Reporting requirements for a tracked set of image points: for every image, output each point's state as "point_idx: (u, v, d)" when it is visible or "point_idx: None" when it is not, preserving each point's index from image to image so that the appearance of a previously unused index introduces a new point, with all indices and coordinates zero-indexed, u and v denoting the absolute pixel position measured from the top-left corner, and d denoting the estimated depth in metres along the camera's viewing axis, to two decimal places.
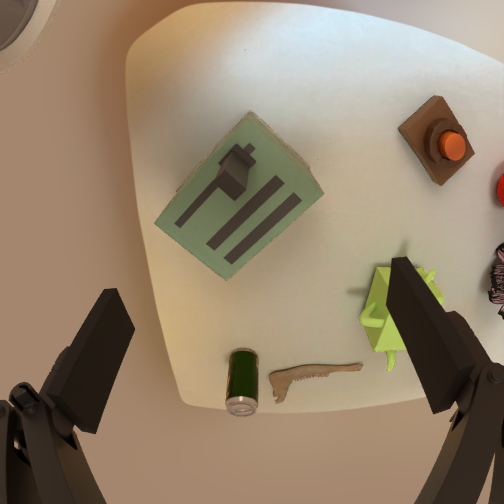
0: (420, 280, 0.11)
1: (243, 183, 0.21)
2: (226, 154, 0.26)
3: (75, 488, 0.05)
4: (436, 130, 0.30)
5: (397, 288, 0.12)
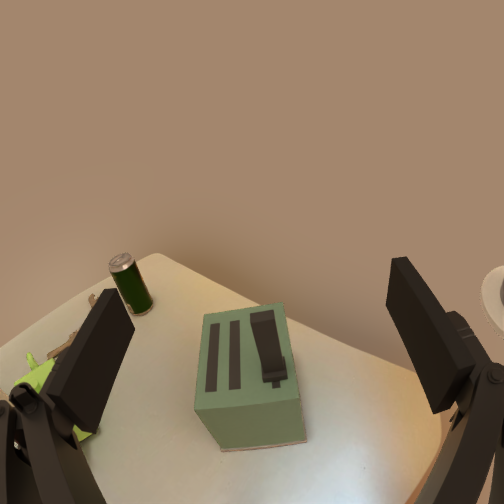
0: (420, 280, 0.11)
1: (255, 327, 0.24)
2: (285, 364, 0.28)
3: (75, 488, 0.05)
4: None
5: (397, 288, 0.12)
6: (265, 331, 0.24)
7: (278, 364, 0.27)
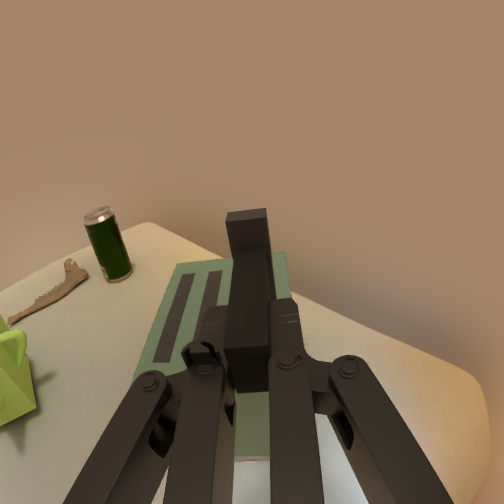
0: (262, 268, 0.14)
1: (234, 232, 0.15)
2: None
3: (217, 479, 0.06)
4: None
5: None
6: (250, 241, 0.15)
7: None
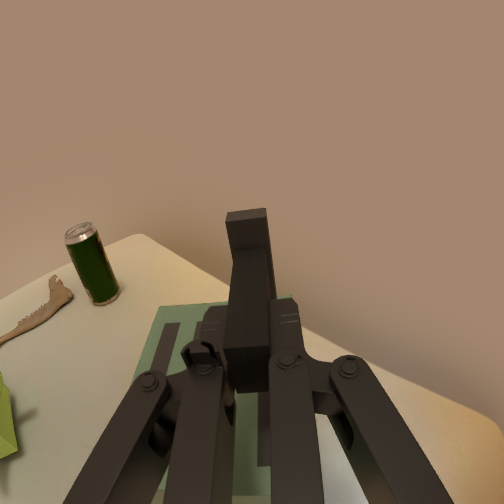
0: (262, 268, 0.14)
1: (234, 232, 0.15)
2: None
3: (217, 479, 0.06)
4: None
5: None
6: (250, 241, 0.15)
7: None
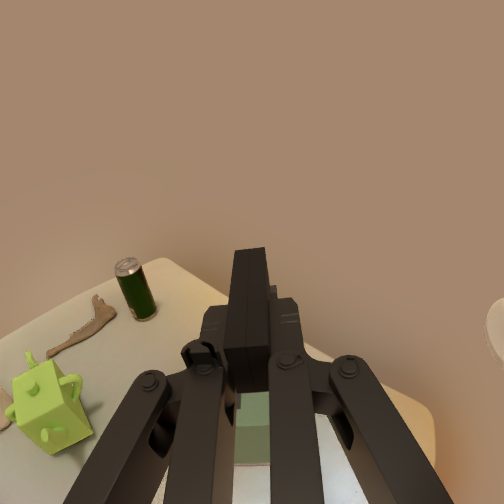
0: (262, 268, 0.14)
1: None
2: None
3: (217, 479, 0.06)
4: None
5: None
6: None
7: None
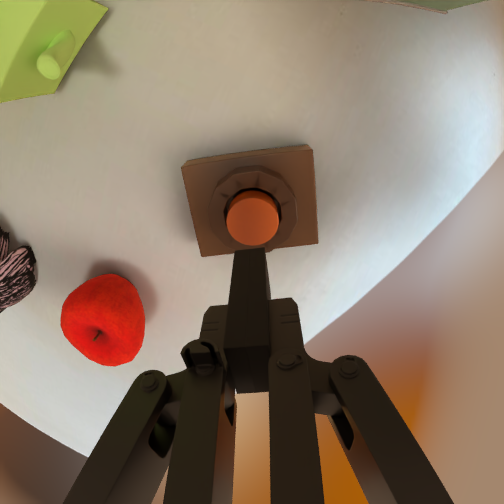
0: (262, 268, 0.14)
1: None
2: None
3: (217, 478, 0.06)
4: (291, 202, 0.22)
5: None
6: None
7: None
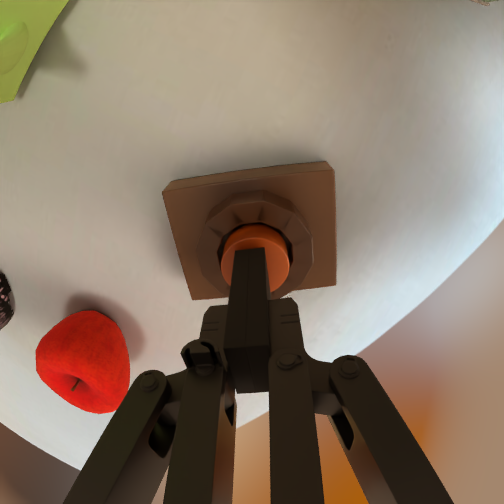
0: (262, 268, 0.14)
1: None
2: None
3: (217, 479, 0.06)
4: (306, 241, 0.16)
5: None
6: None
7: None
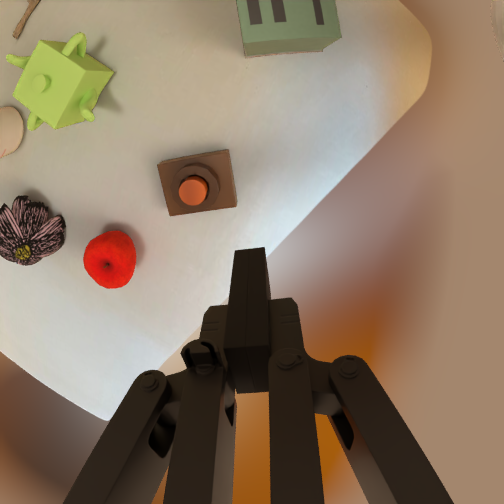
0: (262, 268, 0.14)
1: None
2: None
3: (217, 479, 0.06)
4: (214, 181, 0.39)
5: None
6: None
7: None
